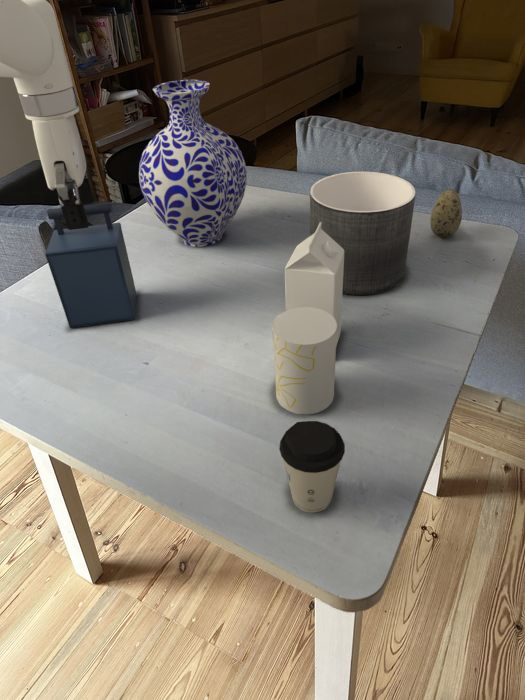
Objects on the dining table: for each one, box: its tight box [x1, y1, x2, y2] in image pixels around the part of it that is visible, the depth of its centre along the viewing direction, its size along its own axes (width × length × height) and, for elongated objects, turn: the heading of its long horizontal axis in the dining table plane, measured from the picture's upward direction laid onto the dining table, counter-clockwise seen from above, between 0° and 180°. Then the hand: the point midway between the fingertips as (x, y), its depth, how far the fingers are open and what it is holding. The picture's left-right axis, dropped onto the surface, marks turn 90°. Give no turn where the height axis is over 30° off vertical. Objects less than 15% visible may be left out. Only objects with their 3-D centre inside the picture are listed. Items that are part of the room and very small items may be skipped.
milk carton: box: [284, 222, 344, 347], centre depth 79 cm, size 7×7×19 cm
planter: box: [309, 171, 417, 296], centre depth 96 cm, size 18×18×16 cm
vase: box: [138, 79, 248, 248], centre depth 107 cm, size 22×22×30 cm
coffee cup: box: [278, 420, 346, 514], centre depth 59 cm, size 7×7×10 cm
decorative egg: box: [429, 188, 463, 239], centre depth 107 cm, size 6×6×10 cm
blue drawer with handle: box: [44, 201, 137, 329], centre depth 90 cm, size 18×11×9 cm
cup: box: [272, 307, 337, 415], centre depth 72 cm, size 8×8×12 cm
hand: (82, 215), depth 87 cm, fingers open, 9 cm apart
